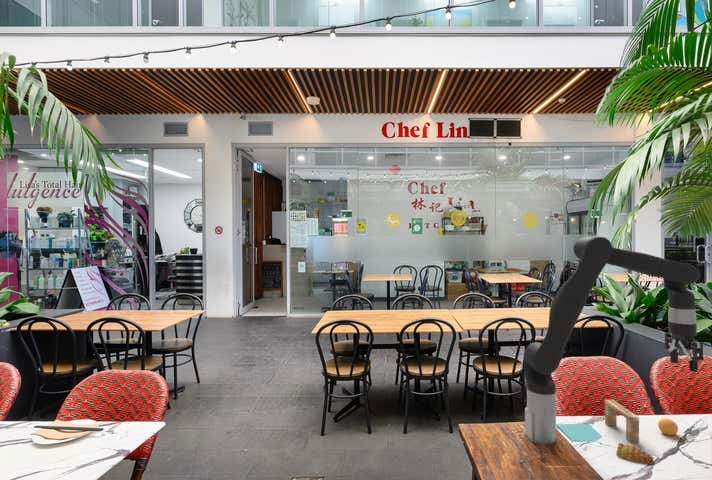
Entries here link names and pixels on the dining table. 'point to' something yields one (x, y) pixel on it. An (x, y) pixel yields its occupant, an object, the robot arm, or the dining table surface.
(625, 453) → the pastry
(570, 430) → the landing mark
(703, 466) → the dining table surface
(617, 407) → the bridge
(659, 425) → the ball
